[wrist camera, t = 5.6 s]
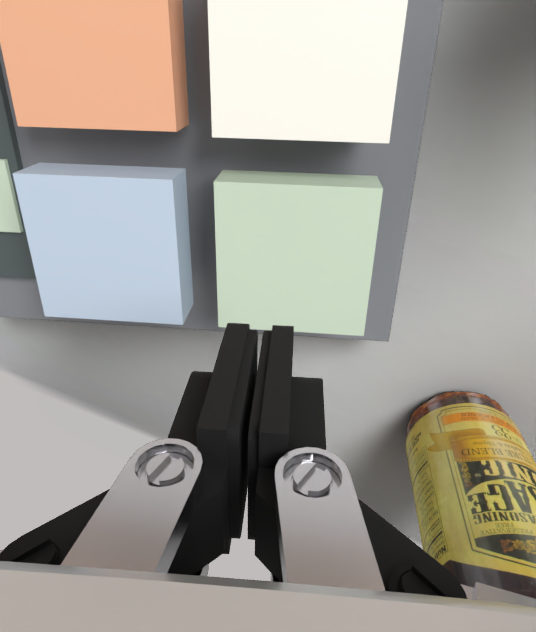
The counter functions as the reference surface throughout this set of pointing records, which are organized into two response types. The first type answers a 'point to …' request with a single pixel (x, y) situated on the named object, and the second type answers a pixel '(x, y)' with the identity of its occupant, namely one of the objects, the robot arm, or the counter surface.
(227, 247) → the sage key
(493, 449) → the sauce bottle
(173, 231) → the blue key
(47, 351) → the counter surface
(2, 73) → the keypad
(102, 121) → the terracotta key
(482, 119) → the counter surface
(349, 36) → the cream key
